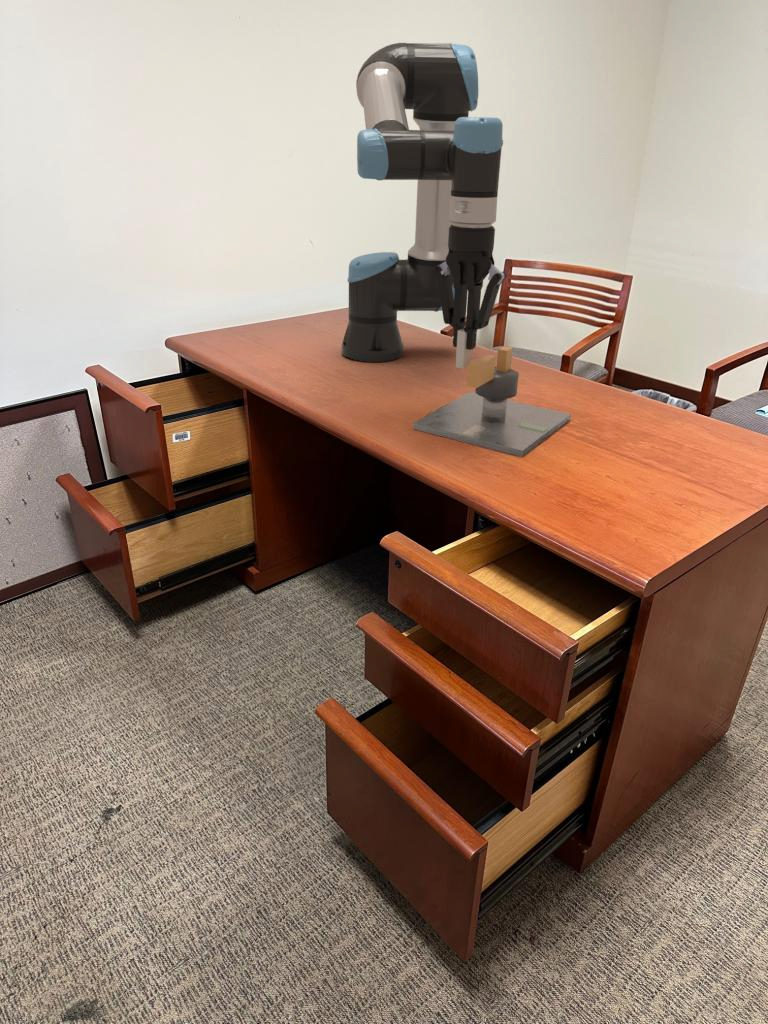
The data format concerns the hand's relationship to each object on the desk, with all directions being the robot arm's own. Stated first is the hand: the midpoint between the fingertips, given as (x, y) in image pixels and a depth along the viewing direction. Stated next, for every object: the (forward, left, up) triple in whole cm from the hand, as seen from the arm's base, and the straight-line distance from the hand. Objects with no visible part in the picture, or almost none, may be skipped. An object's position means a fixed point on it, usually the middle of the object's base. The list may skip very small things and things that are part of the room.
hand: (462, 366), depth 130 cm
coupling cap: (-3, +4, -6) cm, 8 cm away
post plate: (-6, +4, -12) cm, 14 cm away
